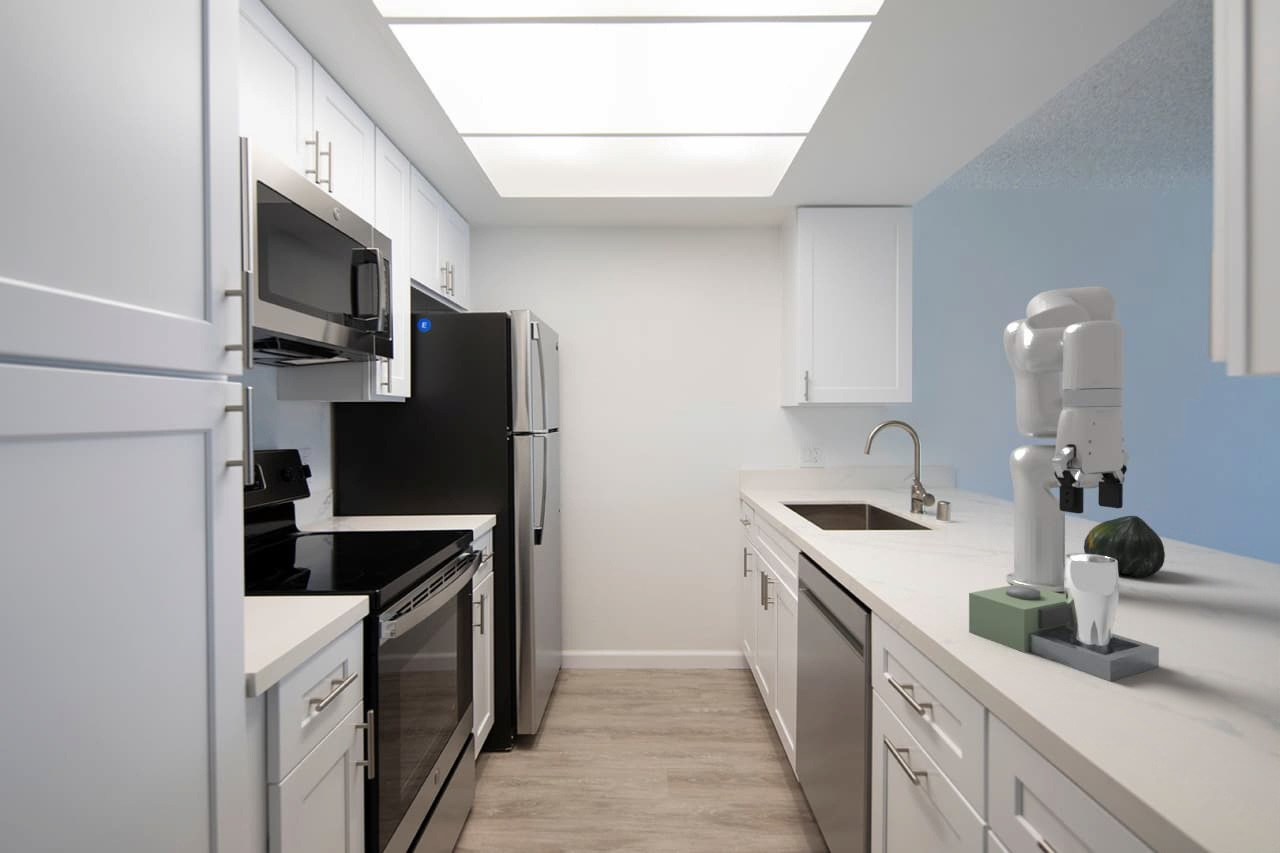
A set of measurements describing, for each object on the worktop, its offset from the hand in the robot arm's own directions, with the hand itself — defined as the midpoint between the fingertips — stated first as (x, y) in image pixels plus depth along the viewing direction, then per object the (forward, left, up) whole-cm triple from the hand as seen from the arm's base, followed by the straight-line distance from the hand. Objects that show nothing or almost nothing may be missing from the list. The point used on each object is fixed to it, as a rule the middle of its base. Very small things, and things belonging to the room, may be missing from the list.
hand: (1091, 509), depth 94 cm
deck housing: (0, -11, -24) cm, 26 cm away
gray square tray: (0, 0, -24) cm, 24 cm away
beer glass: (0, 0, -23) cm, 23 cm away
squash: (-61, -28, -24) cm, 71 cm away
